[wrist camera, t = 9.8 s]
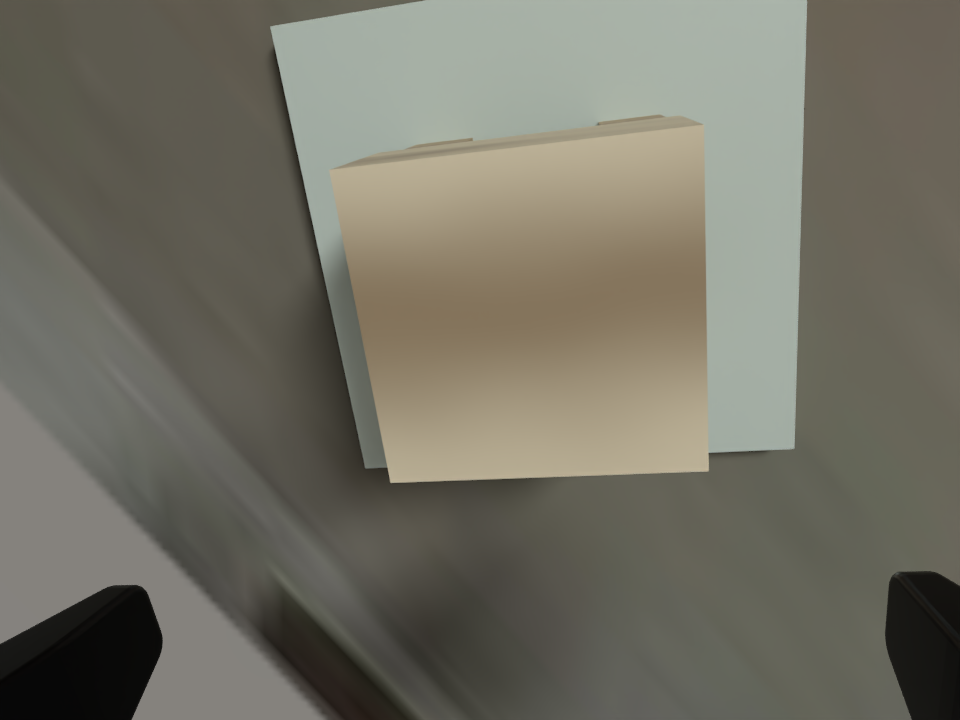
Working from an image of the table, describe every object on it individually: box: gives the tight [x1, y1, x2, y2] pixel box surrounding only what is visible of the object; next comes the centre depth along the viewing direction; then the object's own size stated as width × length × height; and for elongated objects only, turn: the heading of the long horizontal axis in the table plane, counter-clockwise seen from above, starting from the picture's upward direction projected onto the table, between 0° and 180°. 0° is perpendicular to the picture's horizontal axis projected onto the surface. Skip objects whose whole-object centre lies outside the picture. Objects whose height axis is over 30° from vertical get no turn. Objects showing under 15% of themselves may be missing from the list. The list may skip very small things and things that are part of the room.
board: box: [270, 0, 807, 469], centre depth 18 cm, size 12×12×1 cm
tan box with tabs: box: [329, 114, 709, 483], centre depth 15 cm, size 6×6×6 cm
